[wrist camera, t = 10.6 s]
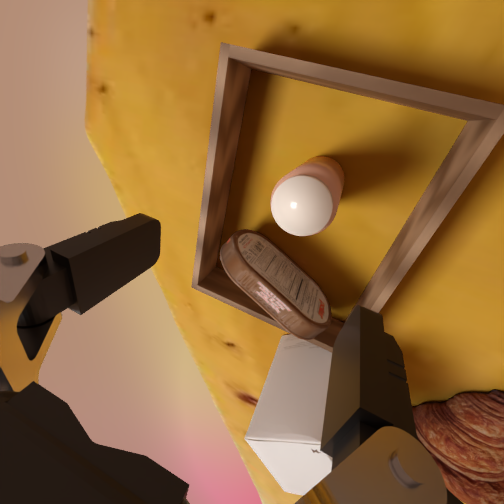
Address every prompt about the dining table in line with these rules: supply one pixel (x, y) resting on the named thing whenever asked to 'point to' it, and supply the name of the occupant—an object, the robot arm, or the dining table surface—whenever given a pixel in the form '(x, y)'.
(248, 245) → the tin
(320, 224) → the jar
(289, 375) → the supplement box
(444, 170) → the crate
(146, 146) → the dining table surface
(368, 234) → the dining table surface
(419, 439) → the pastry
